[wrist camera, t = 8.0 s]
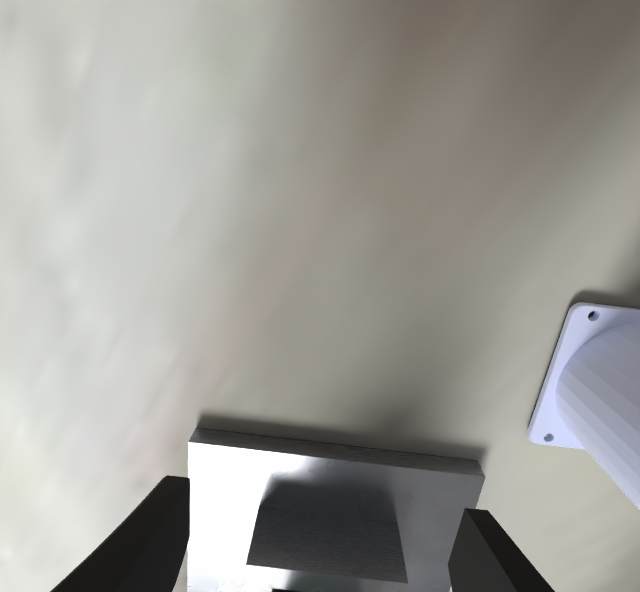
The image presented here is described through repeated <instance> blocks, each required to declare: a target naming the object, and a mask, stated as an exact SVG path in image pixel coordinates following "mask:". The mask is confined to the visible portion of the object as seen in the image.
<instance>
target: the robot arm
mask: <svg viewBox="0 0 640 592" xmlns="http://www.w3.org/2000/svg"><path fill="white" fill-rule="evenodd" d="M592 311H594V314H593V316H592V317H590V318H588V315H589V313H590V312H592ZM547 434H549V435H548V436H547V437H544V436H545V435H547ZM527 436H528V438H529V439H530V441H532V442H533V443H536V444H543V445H551V446H560V447H568V448H577V449H585V450H587V451H588V452H589V454H590V455H591V456H592V457H593V458H594V459H595V460H596V461H597V463H598V464H599V465H600V466H601V467H602V468H603V469H604V470H605V472H606V473H607V474H608V475H609V476H610V477H611V478H612V480H613V481H614V482H615V483H616V484H617V485H618V486H619V487H620V489H621V490H622V491H623V492H624V493H625V494H626V495H627V496H628V498H629V499H630V500H631V501H632V502H633V503H634V504H635V506H636V507H637V508H638V509H639V510H640V309H634V308H626V307H617V306H609V305H601V304H592V303H584V302H579V303H576V304H574V305H573V306H571V308H570V309H569V311H568V314H567V317H566V320H565V323H564V326H563V329H562V332H561V335H560V337H559V340H558V343H557V346H556V349H555V352H554V355H553V358H552V361H551V364H550V366H549V369H548V372H547V375H546V378H545V381H544V384H543V387H542V390H541V393H540V396H539V398H538V401H537V404H536V407H535V410H534V413H533V416H532V419H531V422H530V425H529V428H528V430H527ZM189 538H190V478H186V477H177V476H166V477H164V478H163V479H162V480H161V481H160V482H159V483H158V484H157V486H156V487H155V488H154V489H153V490H152V491H151V492H150V493H149V494H148V496H147V497H146V498H145V499H144V500H143V501H142V502H141V503H140V504H139V505H138V506H137V508H136V509H135V510H134V511H133V512H132V513H131V514H130V515H129V516H128V517H127V518H126V519H125V520H124V521H123V522H122V523H121V524H120V525H119V526H118V527H117V528H116V529H115V530H114V531H113V532H112V533H111V534H110V535H109V536H108V537H107V538H106V539H105V540H104V541H103V542H102V543H101V544H100V545H99V546H98V548H96V549H95V550H94V551H93V552H92V553H91V554H90V555H89V556H88V557H87V558H86V559H85V560H84V561H83V562H82V563H81V564H80V565H79V566H77V567H76V568H75V569H74V570H73V571H72V572H71V573H70V574H69V575H68V576H67V577H66V578H65V579H64V580H62V581H61V582H60V583H59V584H58V585H57V586H56V587H55V588H54V589H53V590H52V591H50V592H172V591H173V588H174V586H175V583H176V580H177V577H178V574H179V571H180V568H181V565H182V561H183V558H184V555H185V551H186V548H187V545H188V542H189ZM448 570H449V575H450V580H451V586H452V591H453V592H555V591H554V590H553V589H552V588H551V587H550V585H549V584H548V583H547V582H546V581H545V579H544V578H543V577H542V576H541V575H540V573H539V572H538V571H537V570H536V569H535V567H534V566H533V565H532V564H531V563H530V561H529V560H528V559H527V558H526V557H525V555H524V554H523V553H522V552H521V550H520V549H519V548H518V547H517V546H516V544H515V543H514V542H513V541H512V539H511V538H510V537H509V536H508V534H507V533H506V532H505V531H504V529H503V528H502V527H501V526H500V525H499V523H498V522H497V521H496V520H495V518H494V517H493V516H492V515H491V514H490V512H489V511H488V510H479V509H470V508H465V509H464V512H463V515H462V519H461V522H460V525H459V528H458V532H457V535H456V538H455V542H454V545H453V548H452V551H451V555H450V558H449V561H448Z"/></svg>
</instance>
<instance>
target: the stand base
mask: <svg viewBox="0 0 640 592" xmlns="http://www.w3.org/2000/svg"><path fill="white" fill-rule="evenodd" d="M188 478H190V538H189V542H188V579H187V592H449V590H450V587H451V580H450V575H449V570H448V561H449V558H450V555H451V551H452V548H453V545H454V542H455V538H456V535H457V532H458V528H459V525H460V522H461V519H462V515H463V512H464V509H465V508H470V509H475V508H476V505H477V502H478V499H479V495H480V492H481V489H482V486H483V483H484V480H485V475H484V473H483V471H482V469H481V467H480V465H479V463H478V461H474V460H465V459H457V458H448V457H440V456H431V455H423V454H414V453H406V452H397V451H389V450H380V449H371V448H363V447H354V446H346V445H337V444H329V443H320V442H312V441H303V440H295V439H286V438H278V437H269V436H261V435H252V434H244V433H235V432H226V431H218V430H209V429H201V428H196V429H195V431H194V433H193V434H192V436H191V438H190V440H189V442H188Z"/></svg>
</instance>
